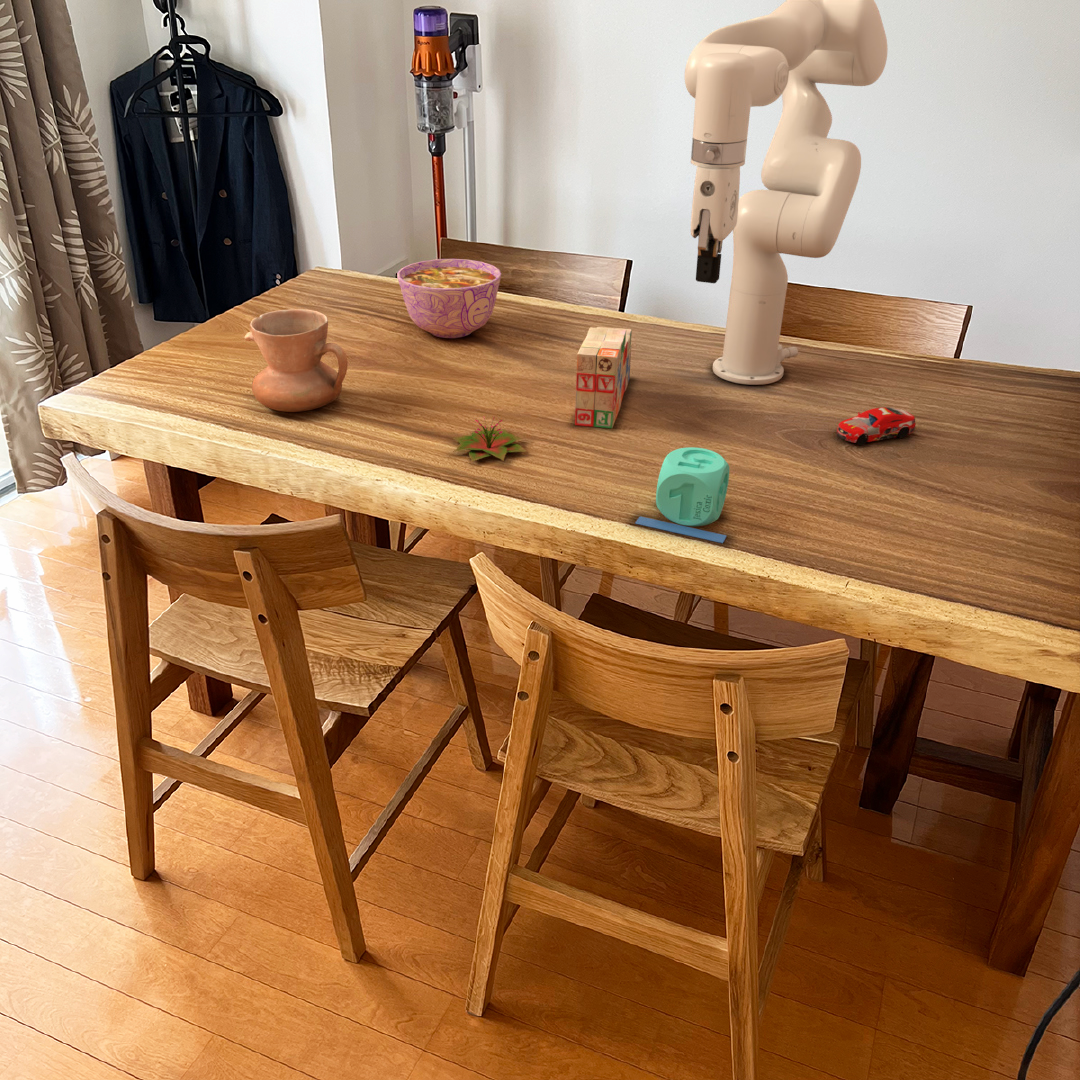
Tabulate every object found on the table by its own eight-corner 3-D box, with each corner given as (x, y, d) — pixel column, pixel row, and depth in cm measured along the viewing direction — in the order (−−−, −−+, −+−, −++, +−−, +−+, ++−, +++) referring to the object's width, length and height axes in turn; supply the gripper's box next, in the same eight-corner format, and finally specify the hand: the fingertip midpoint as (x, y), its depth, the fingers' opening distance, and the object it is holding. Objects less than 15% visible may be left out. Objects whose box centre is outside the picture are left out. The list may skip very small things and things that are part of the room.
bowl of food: (499, 350, 186) (498, 289, 180) (393, 348, 186) (389, 288, 180) (504, 315, 203) (503, 259, 197) (407, 313, 203) (404, 257, 197)
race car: (848, 448, 151) (852, 425, 149) (828, 434, 156) (832, 411, 154) (919, 436, 155) (924, 413, 153) (897, 422, 159) (902, 400, 157)
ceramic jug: (230, 411, 160) (216, 327, 153) (280, 380, 172) (269, 300, 164) (327, 429, 155) (317, 343, 148) (371, 395, 167) (364, 314, 159)
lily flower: (465, 472, 143) (464, 444, 141) (439, 439, 152) (437, 412, 150) (540, 458, 147) (541, 430, 145) (510, 426, 156) (510, 400, 154)
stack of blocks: (595, 376, 175) (598, 308, 169) (630, 379, 174) (634, 311, 168) (574, 425, 157) (576, 352, 151) (613, 429, 156) (617, 355, 150)
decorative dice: (653, 519, 132) (657, 467, 128) (670, 493, 138) (674, 442, 134) (711, 532, 129) (718, 478, 125) (725, 504, 136) (732, 453, 131)
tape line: (635, 523, 131) (635, 523, 131) (639, 516, 133) (639, 516, 133) (722, 543, 127) (722, 542, 127) (726, 536, 129) (726, 535, 128)
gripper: (732, 165, 130) (719, 300, 140) (756, 143, 141) (743, 268, 151) (677, 161, 132) (669, 293, 142) (705, 139, 144) (695, 263, 154)
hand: (707, 280), depth 147 cm, fingers closed
